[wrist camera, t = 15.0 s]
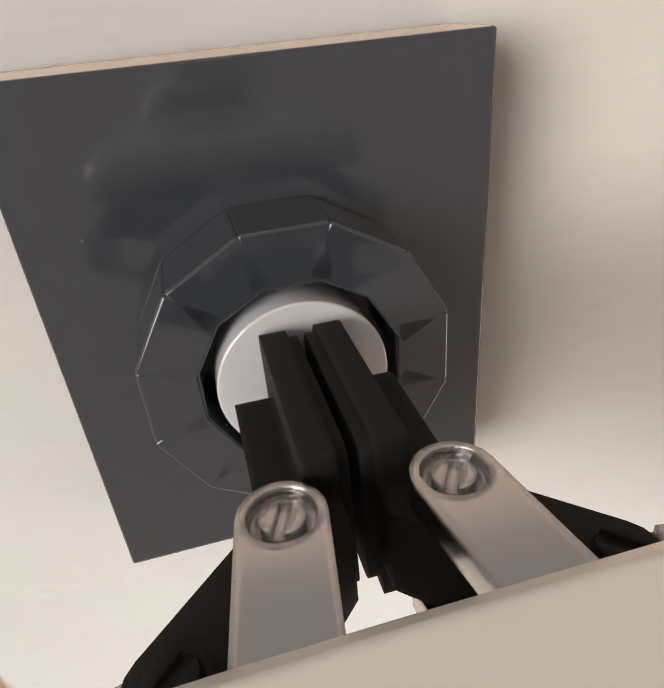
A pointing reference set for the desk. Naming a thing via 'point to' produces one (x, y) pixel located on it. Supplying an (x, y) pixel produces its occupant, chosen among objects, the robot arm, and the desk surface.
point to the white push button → (296, 319)
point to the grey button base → (245, 236)
